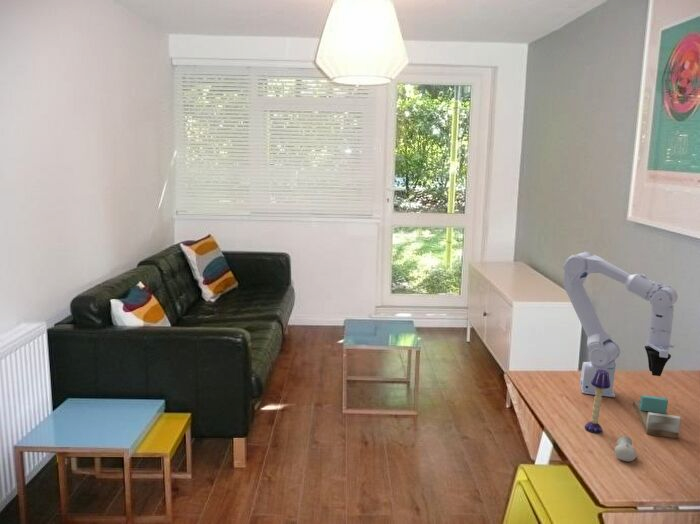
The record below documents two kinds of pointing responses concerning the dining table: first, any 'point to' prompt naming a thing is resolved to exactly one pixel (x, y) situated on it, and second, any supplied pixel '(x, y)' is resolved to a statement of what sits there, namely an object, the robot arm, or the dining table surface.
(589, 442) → the dining table surface
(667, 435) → the clamp board
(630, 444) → the pale two-lobed sculpture
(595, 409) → the toy lamp
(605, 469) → the dining table surface
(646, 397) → the sliding jaw
